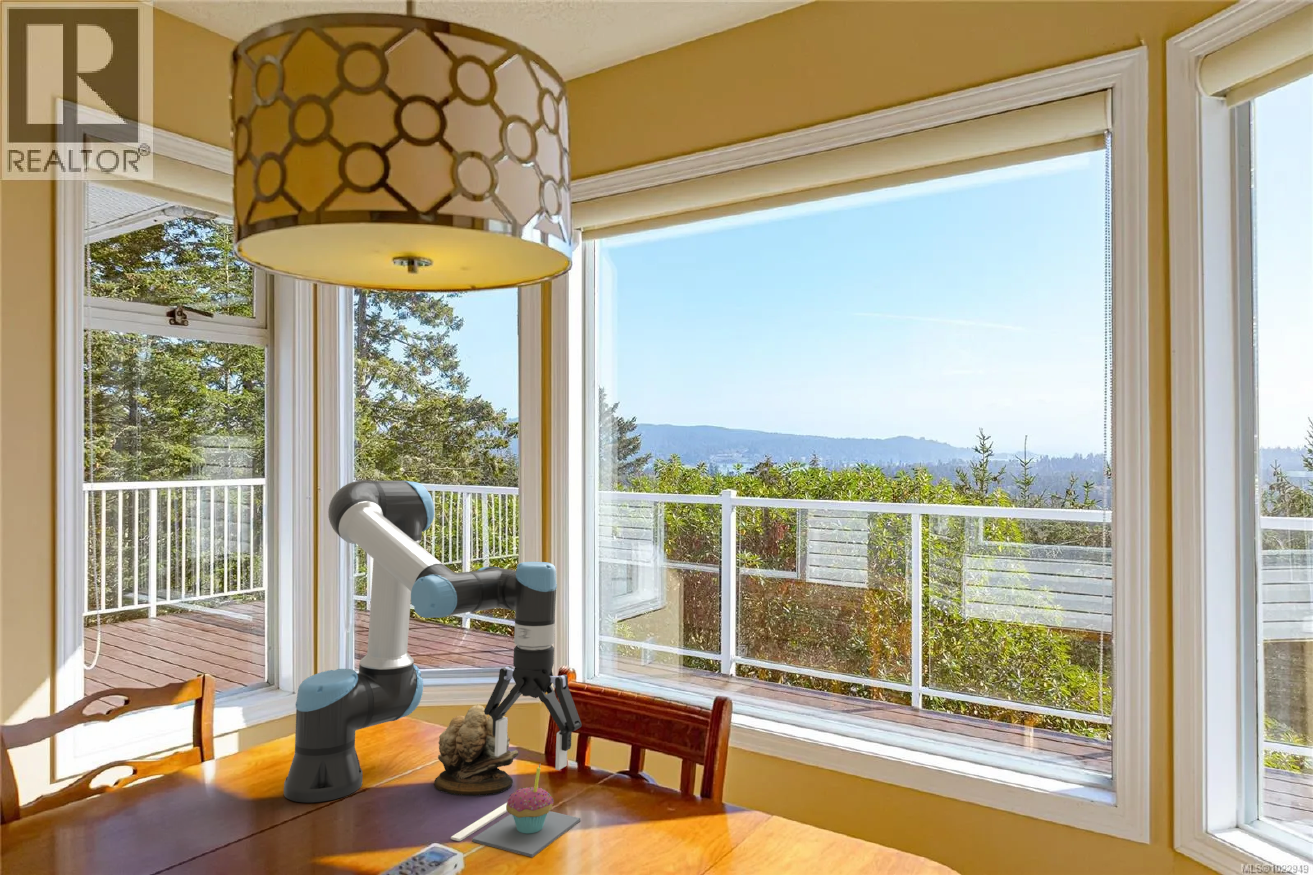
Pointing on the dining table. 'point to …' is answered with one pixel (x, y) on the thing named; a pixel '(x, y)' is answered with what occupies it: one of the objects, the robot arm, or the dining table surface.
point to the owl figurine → (472, 757)
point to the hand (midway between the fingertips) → (530, 760)
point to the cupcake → (530, 807)
